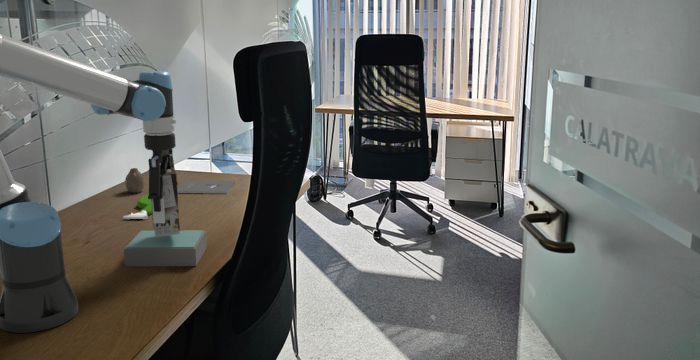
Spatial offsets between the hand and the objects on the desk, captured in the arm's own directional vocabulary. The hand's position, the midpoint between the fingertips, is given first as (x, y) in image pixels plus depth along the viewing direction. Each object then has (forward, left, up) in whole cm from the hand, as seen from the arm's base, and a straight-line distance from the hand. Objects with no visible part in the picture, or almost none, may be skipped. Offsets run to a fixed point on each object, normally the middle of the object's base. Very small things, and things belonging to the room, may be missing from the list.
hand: (165, 216), depth 156 cm
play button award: (+71, +4, -12) cm, 72 cm away
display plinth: (0, 0, -11) cm, 11 cm away
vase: (+66, +29, -11) cm, 73 cm away
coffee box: (0, 0, -4) cm, 4 cm away
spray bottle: (+43, +17, -12) cm, 48 cm away
